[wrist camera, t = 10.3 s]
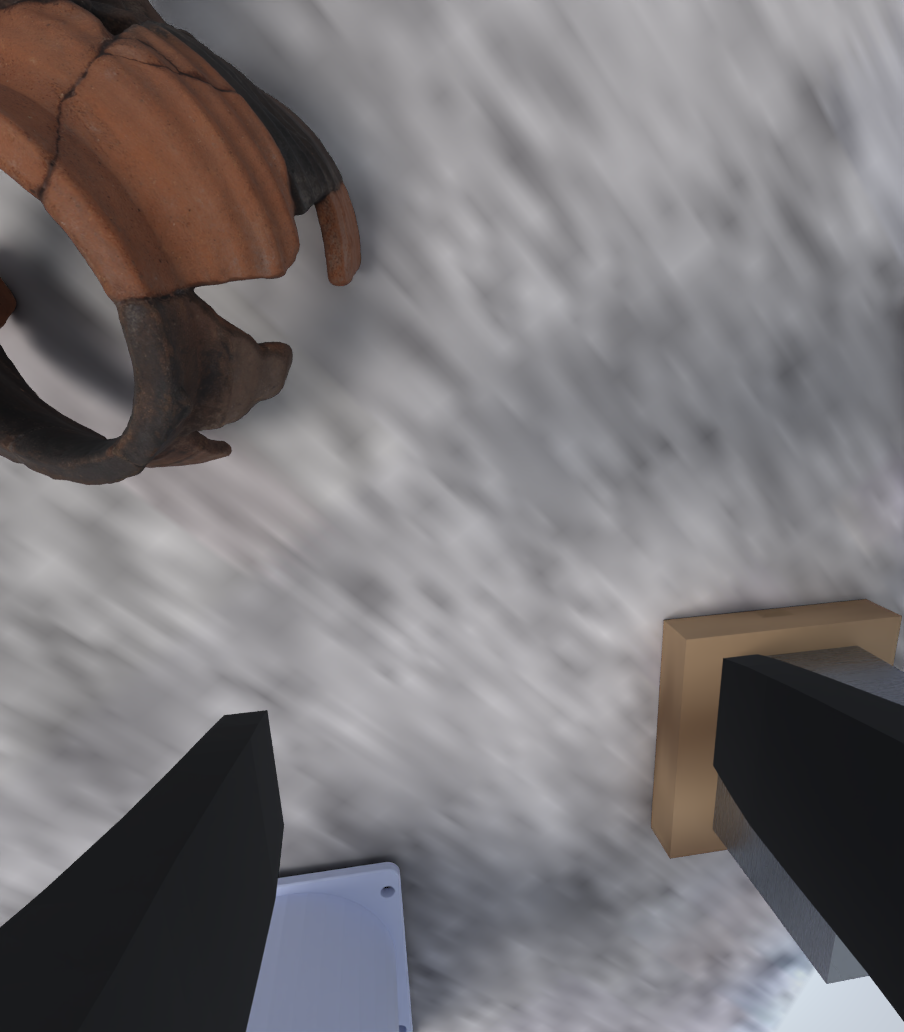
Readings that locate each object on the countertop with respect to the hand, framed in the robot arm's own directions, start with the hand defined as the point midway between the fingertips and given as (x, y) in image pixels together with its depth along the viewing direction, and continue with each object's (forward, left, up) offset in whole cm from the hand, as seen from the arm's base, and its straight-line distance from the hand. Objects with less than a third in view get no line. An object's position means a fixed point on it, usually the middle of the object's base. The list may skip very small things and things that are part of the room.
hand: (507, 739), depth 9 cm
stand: (-8, -12, -10) cm, 17 cm away
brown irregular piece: (+9, +7, -10) cm, 16 cm away
